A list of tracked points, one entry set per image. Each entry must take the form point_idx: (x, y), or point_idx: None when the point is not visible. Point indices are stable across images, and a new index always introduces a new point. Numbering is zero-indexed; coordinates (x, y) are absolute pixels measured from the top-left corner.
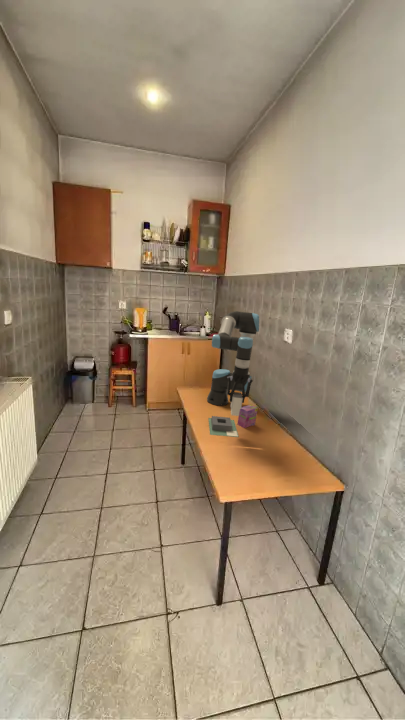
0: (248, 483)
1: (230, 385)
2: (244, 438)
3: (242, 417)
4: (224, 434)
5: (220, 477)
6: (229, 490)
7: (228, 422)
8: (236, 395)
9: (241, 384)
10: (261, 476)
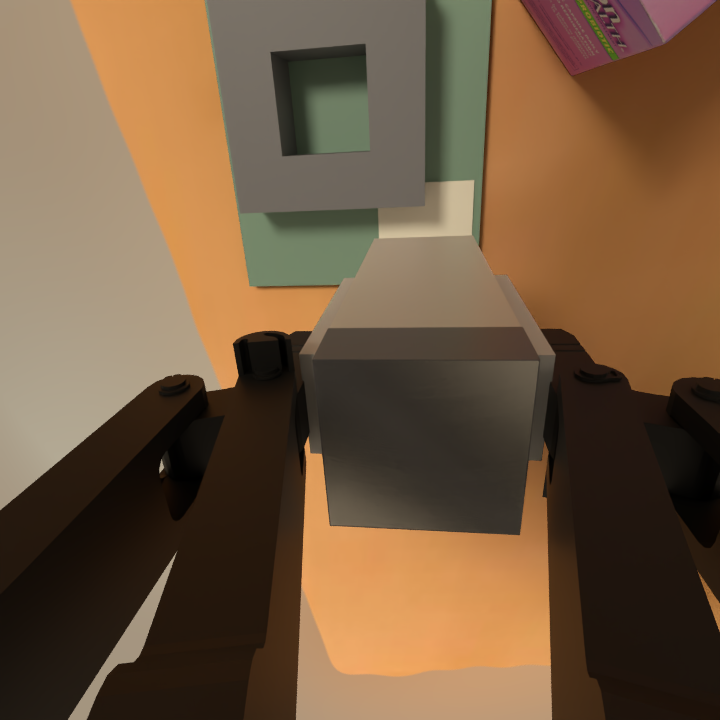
0: (445, 637)
1: (60, 716)
2: (527, 267)
3: (582, 17)
4: (360, 262)
5: (331, 612)
6: (363, 663)
7: (393, 125)
8: (379, 512)
9: (587, 685)
10: (518, 605)
